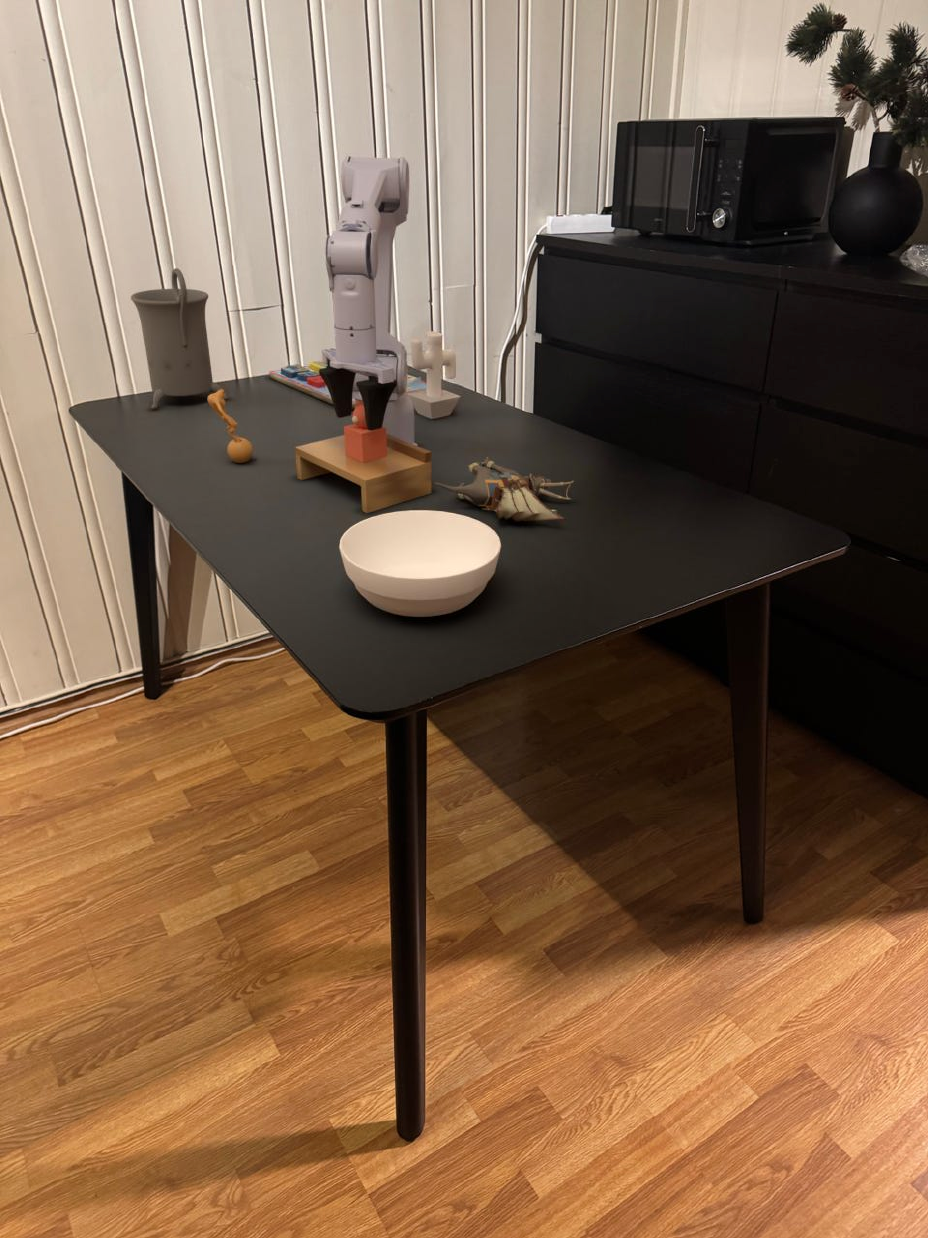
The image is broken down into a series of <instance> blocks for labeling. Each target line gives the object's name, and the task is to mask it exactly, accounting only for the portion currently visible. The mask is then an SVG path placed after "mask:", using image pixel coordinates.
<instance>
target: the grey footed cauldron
mask: <svg viewBox="0 0 928 1238" xmlns="http://www.w3.org/2000/svg"><path fill="white" fill-rule="evenodd" d="M178 283H179V285H178ZM171 286H172V288H157V289H149V290H148V289H147V290H143V291H142V290H141V291H139V292H135V293H133V294H131V296H130V300H131V301H132V302H133V304H134V306H135V308H136V309H137V312H138V317H139V319H140V324H141V330H142V331H141V332H142V337H143V343H144V349H145V356H146V361H147V369H148V374H149V381H150V382H149V383H150V387H151V391H152V392H153V396H152V405H151V406H150V408H151V410H156V409H158V408H159V405H160V404H161V402H162V401H163V400H164V399H165V398H166V396H167V397H187V396H195V395H201V394H205V393H208V392H210V393H211V394H213V393H216V392H218V391H219V390H220V389H223V388H222V386H220V385H219V384H217V383H216V382H213V372H212V365H211V364H212V363H211V356H210V348H209V340H208V331H207V322H206V305H207V301H208V299H209V294H208V293H207V292H205V291H203V290H198V289H191V288H187V284H186V280H185V277H184V275H183V272H182V270H181V269H179V268H178V267H175V268H173V270H172V272H171ZM228 399H229V397H228V395H225V396H224V400H225V401H227V400H228Z"/></svg>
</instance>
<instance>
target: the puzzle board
mask: <svg viewBox="0 0 928 1238" xmlns="http://www.w3.org/2000/svg"><path fill="white" fill-rule="evenodd" d="M326 366H327V364H324V363H322V360H317V361H310V362H309V363H308V365H303V366H302V365H300V364H297V363H295V364H289V365H286V366H284V367H281V368H280V369H277V370H269V371H268V374H269V378H270V379H272V380H274V381H276V382H279V383H281V384H283V385H286V386H288V387H291V388H293V389H295V390H297V391H300V392H302V393H305V394H307V395H309V396H312V397H314V398H316V399H318V400H321V401H323V402H326V403H328V404H330V405H333V402H332V399H331V396H330V393H329V390H328V388H327V386H326V384H325V382H324V381H323V379H322V377H321V376H320V374H319V370H320V369H322V368H326ZM423 390H427V381H425V380H422V377H421V376H419V375H417V374H413V373H411V372H408V377H407V389H406V392H405V393H406V394H408V393H413V392H418V391H423ZM333 406H334V405H333ZM352 410H355V399H352Z"/></svg>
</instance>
